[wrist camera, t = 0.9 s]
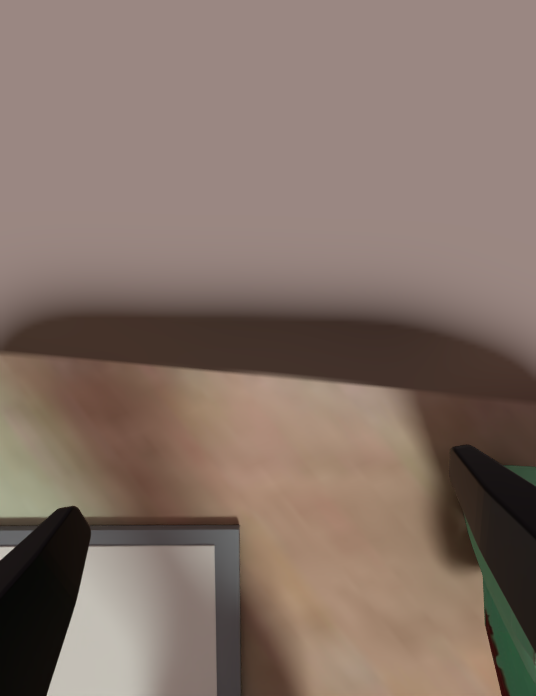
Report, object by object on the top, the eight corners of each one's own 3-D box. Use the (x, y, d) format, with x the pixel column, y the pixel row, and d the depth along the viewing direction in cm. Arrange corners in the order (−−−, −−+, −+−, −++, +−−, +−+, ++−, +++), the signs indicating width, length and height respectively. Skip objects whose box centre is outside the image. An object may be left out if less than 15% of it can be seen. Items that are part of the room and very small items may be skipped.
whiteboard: (241, 726, 25) (239, 752, 24) (-33, 728, 25) (-51, 754, 24) (239, 525, 24) (237, 539, 22) (-50, 526, 24) (-71, 540, 22)
